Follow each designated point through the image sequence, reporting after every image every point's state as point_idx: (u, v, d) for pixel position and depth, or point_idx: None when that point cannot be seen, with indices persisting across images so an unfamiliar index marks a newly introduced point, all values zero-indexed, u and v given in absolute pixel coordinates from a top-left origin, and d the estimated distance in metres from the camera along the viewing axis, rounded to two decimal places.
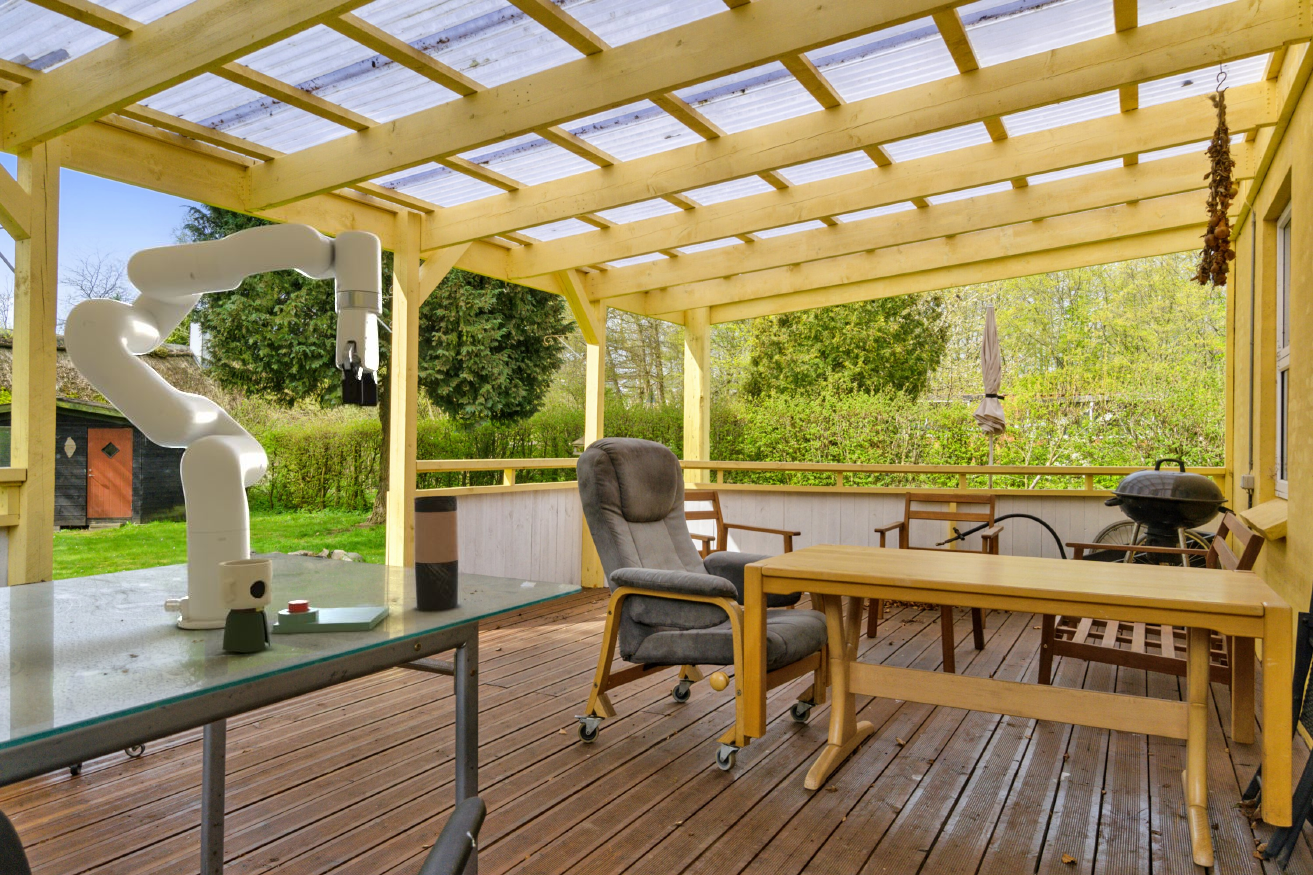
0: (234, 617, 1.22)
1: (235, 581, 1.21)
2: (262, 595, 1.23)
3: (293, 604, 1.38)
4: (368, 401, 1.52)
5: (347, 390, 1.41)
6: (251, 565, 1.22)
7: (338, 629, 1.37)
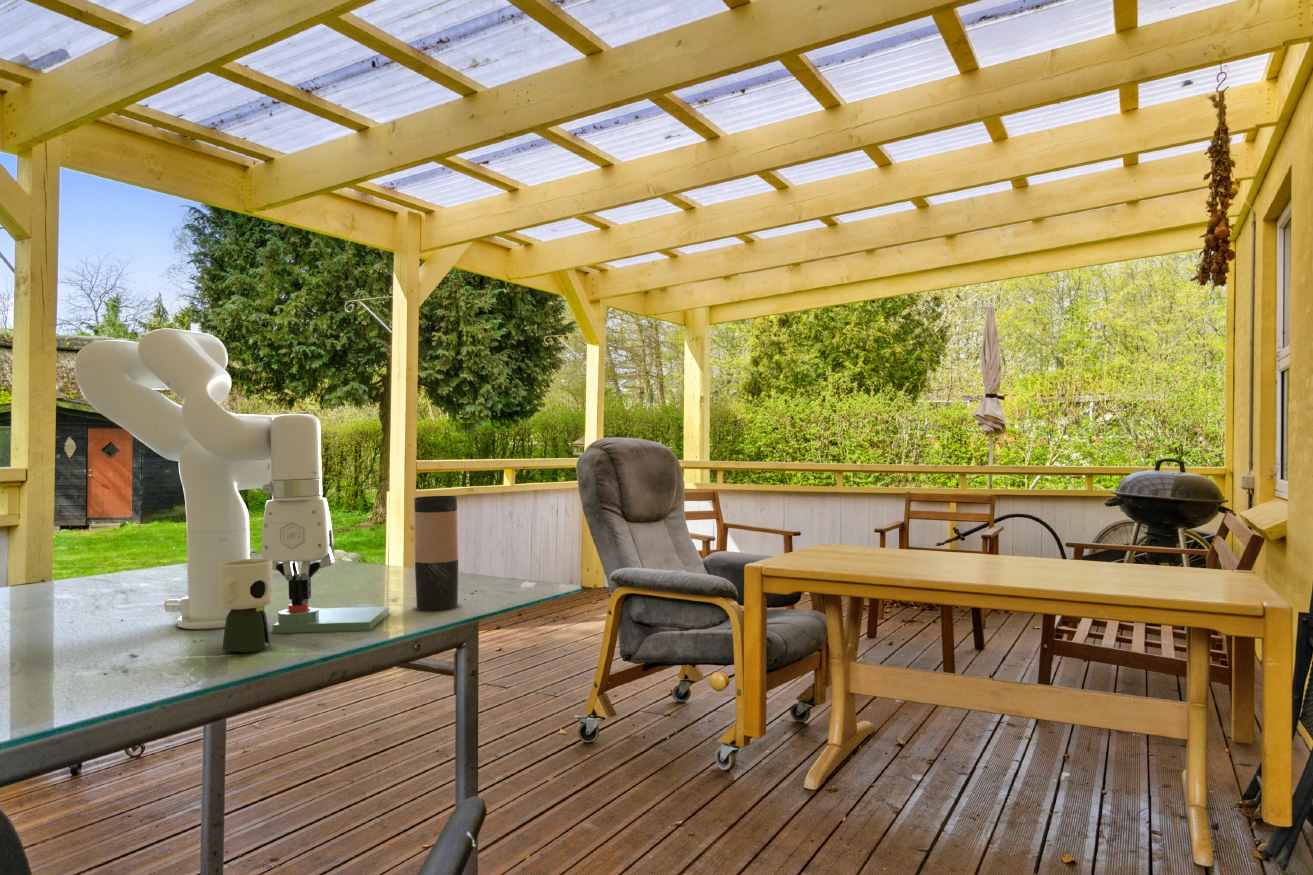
0: (234, 617, 1.22)
1: (235, 581, 1.21)
2: (262, 595, 1.23)
3: (293, 606, 1.38)
4: None
5: (308, 590, 1.39)
6: (251, 565, 1.22)
7: (338, 629, 1.37)
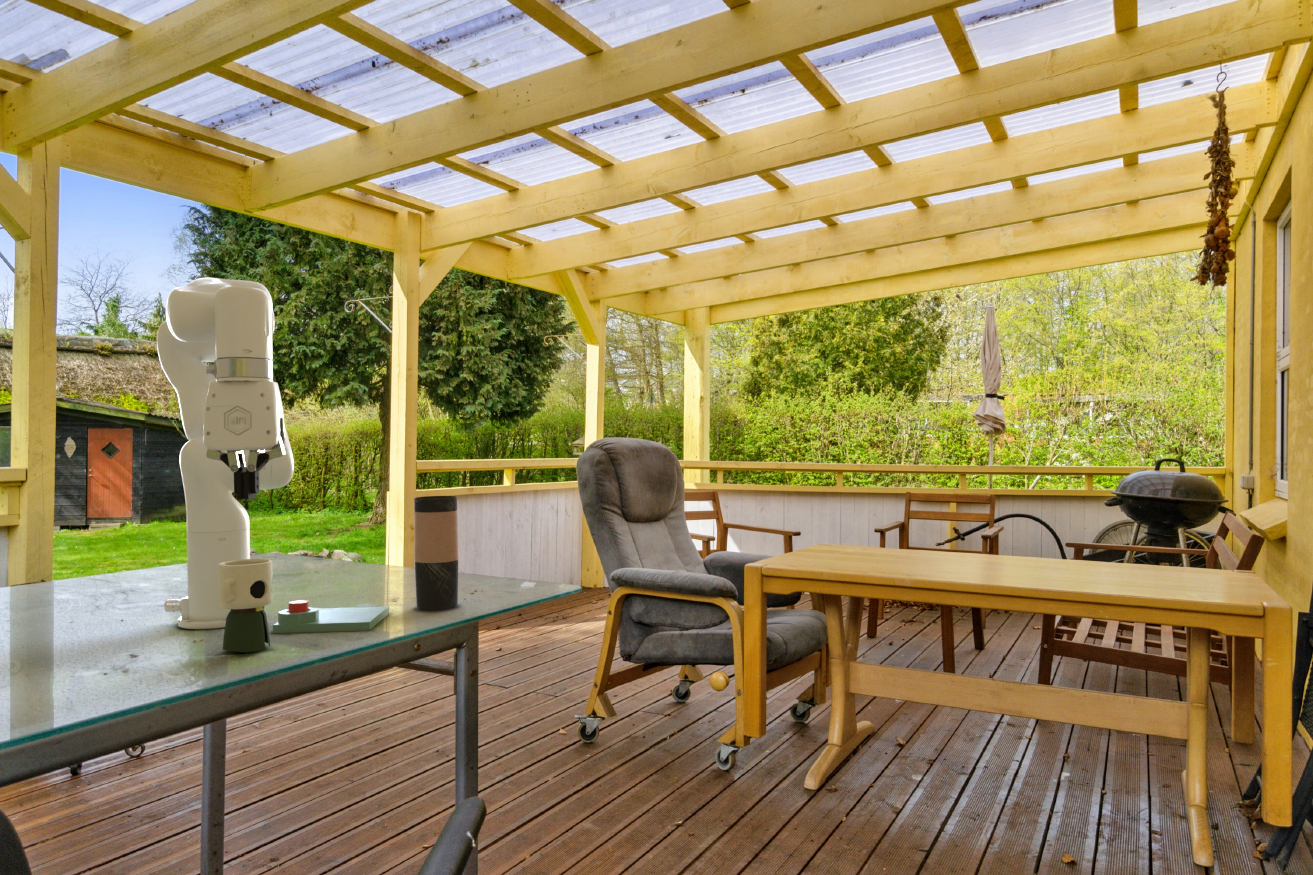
0: (234, 617, 1.22)
1: (235, 581, 1.21)
2: (262, 595, 1.23)
3: (293, 604, 1.38)
4: None
5: (256, 483, 1.24)
6: (251, 565, 1.22)
7: (338, 629, 1.37)
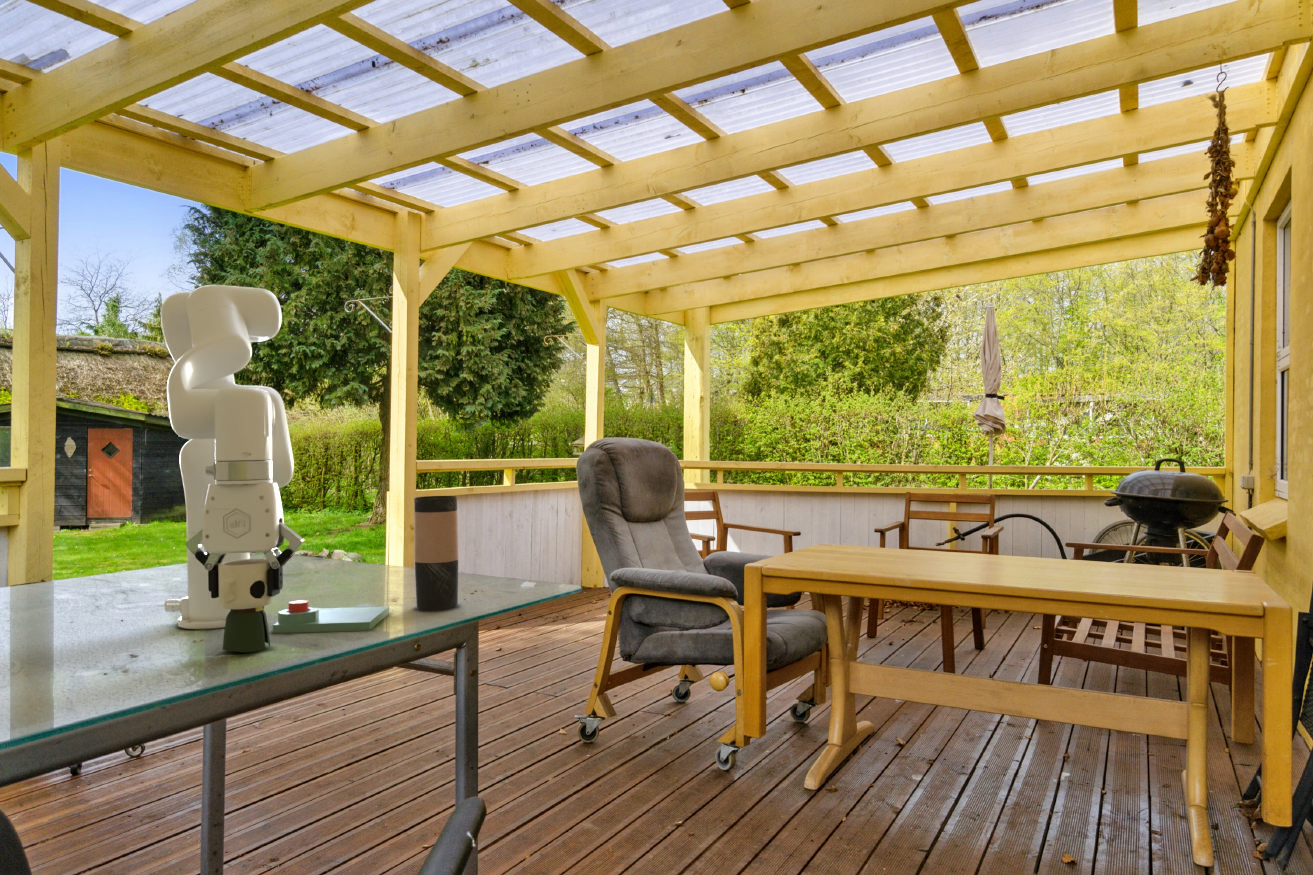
0: (233, 617, 1.22)
1: (234, 581, 1.21)
2: (262, 595, 1.23)
3: (293, 604, 1.38)
4: None
5: (279, 580, 1.24)
6: (251, 565, 1.22)
7: (338, 629, 1.37)
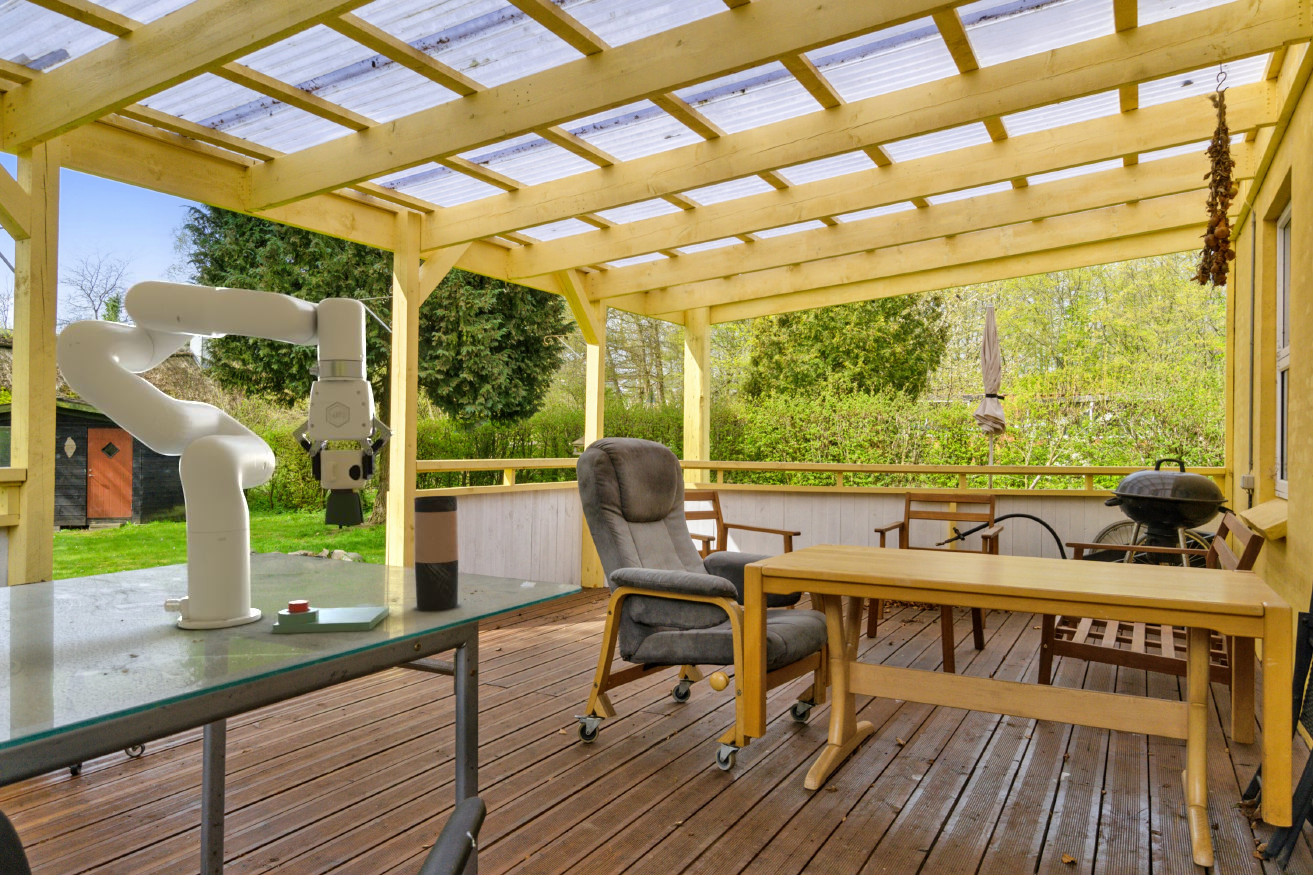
0: (334, 496, 1.41)
1: (336, 464, 1.40)
2: (358, 478, 1.42)
3: (293, 604, 1.38)
4: None
5: (373, 465, 1.43)
6: (349, 451, 1.41)
7: (338, 629, 1.37)
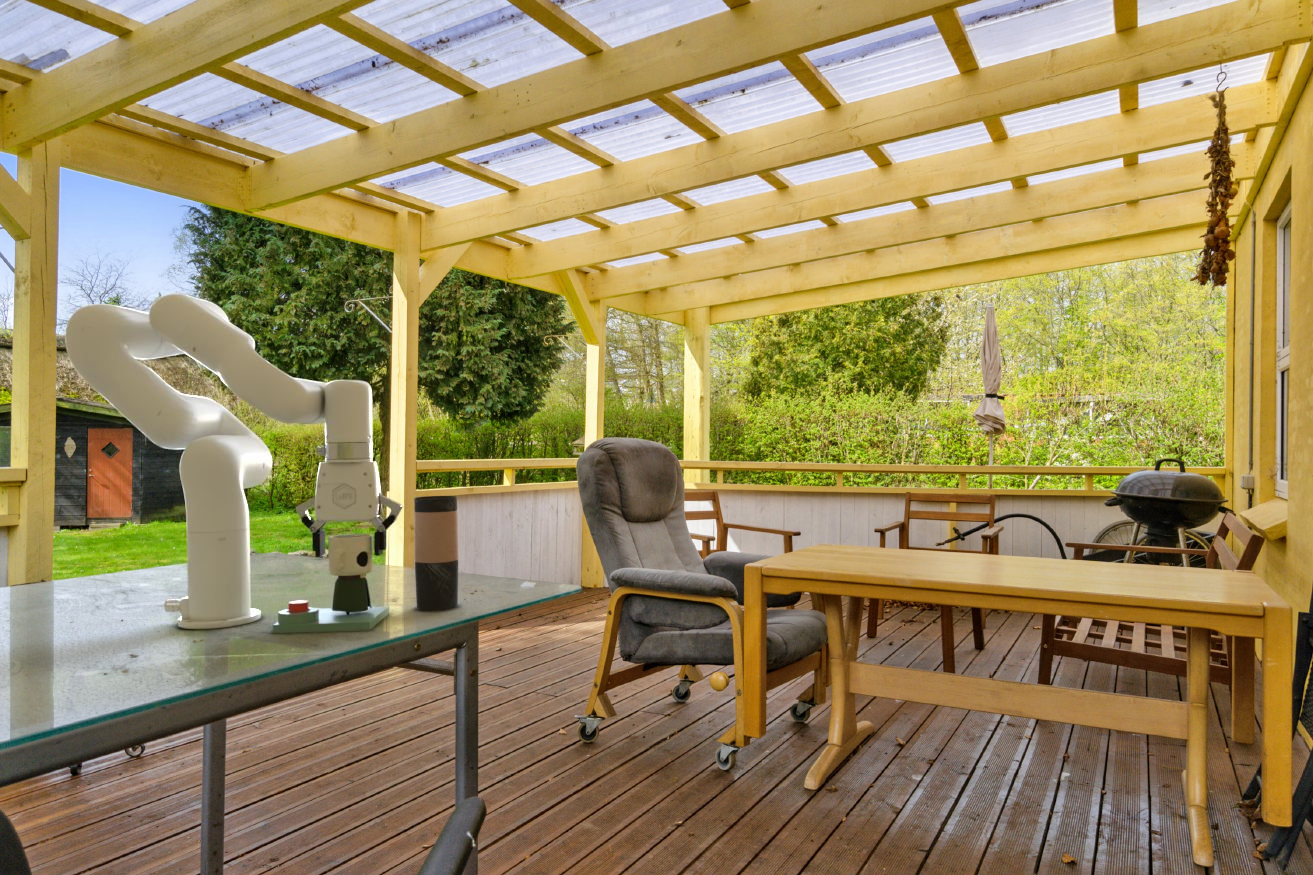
0: (342, 582, 1.42)
1: (344, 552, 1.41)
2: (366, 564, 1.43)
3: (293, 604, 1.38)
4: (323, 550, 1.44)
5: (384, 541, 1.44)
6: (357, 538, 1.42)
7: (338, 629, 1.37)
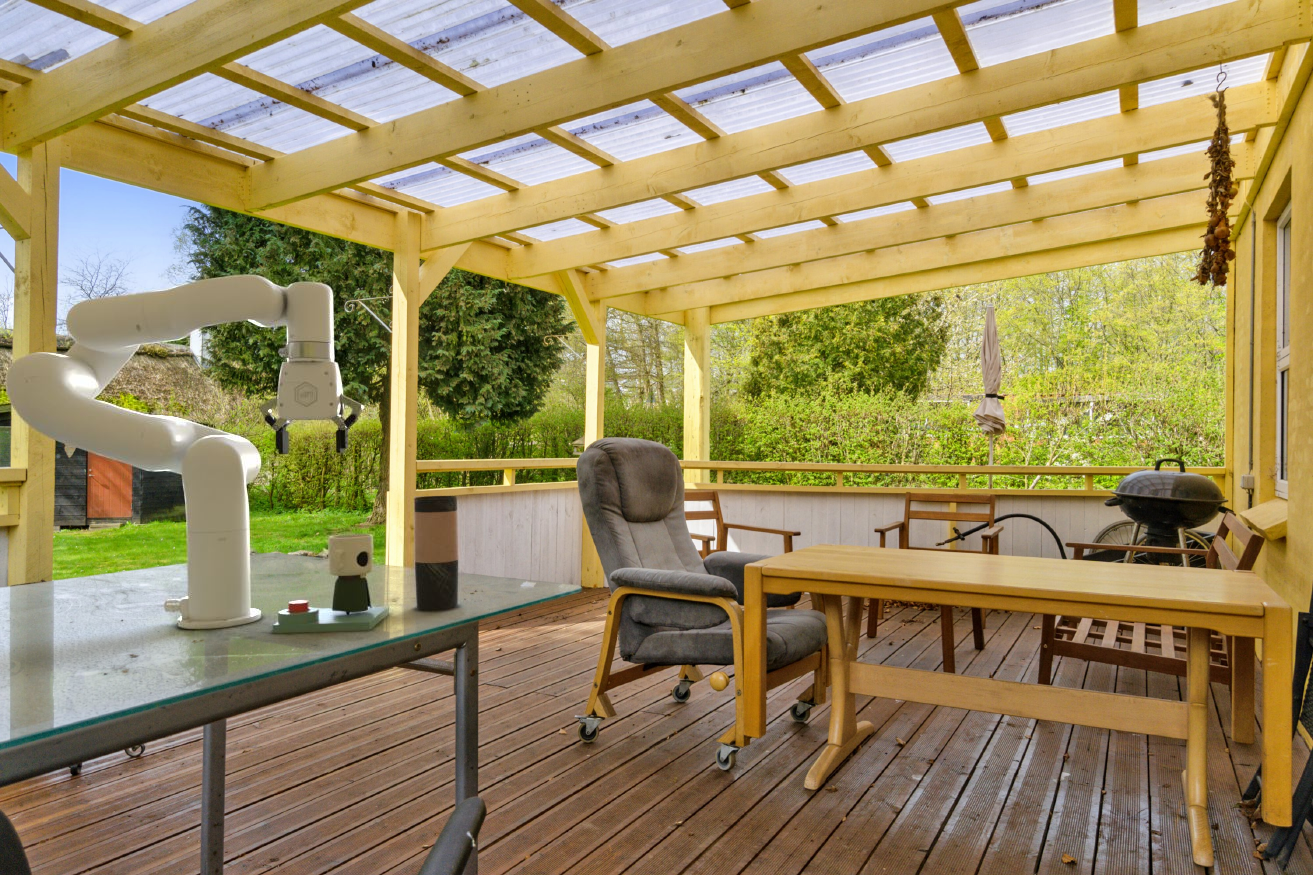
0: (342, 582, 1.42)
1: (344, 552, 1.41)
2: (366, 564, 1.43)
3: (293, 604, 1.38)
4: (286, 449, 1.48)
5: (346, 440, 1.48)
6: (357, 538, 1.42)
7: (338, 629, 1.37)
